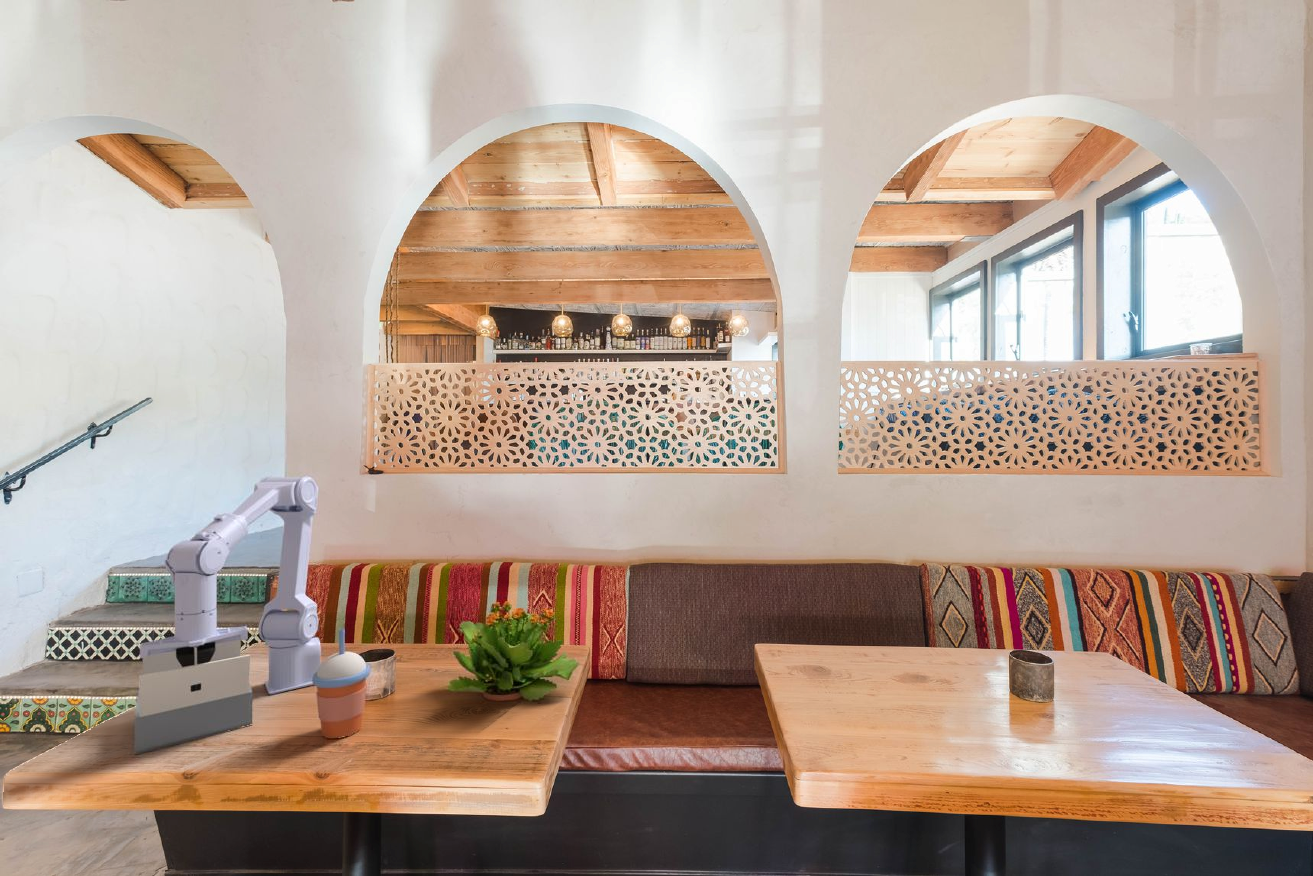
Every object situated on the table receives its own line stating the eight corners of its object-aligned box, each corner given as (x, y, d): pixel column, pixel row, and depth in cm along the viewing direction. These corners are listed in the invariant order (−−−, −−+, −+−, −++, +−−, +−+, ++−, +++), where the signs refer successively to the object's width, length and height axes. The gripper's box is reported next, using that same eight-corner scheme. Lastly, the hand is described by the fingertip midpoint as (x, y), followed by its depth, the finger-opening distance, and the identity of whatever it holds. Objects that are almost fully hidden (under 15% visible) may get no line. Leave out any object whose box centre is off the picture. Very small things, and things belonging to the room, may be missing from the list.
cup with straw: (310, 749, 99) (310, 640, 99) (313, 726, 107) (313, 626, 107) (371, 736, 103) (371, 632, 103) (369, 715, 111) (369, 619, 111)
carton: (243, 696, 120) (243, 666, 120) (252, 725, 107) (252, 691, 107) (138, 720, 109) (138, 687, 110) (134, 755, 97) (134, 718, 97)
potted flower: (468, 733, 104) (468, 633, 104) (419, 691, 122) (419, 606, 122) (586, 693, 120) (585, 606, 121) (528, 661, 138) (528, 586, 138)
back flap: (240, 666, 119) (239, 665, 120) (241, 630, 118) (240, 630, 118) (142, 685, 110) (142, 685, 110) (142, 647, 108) (142, 646, 109)
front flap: (249, 654, 105) (250, 655, 105) (248, 691, 107) (248, 692, 107) (139, 675, 96) (139, 676, 95) (139, 716, 98) (139, 717, 97)
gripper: (139, 624, 94) (138, 709, 94) (249, 608, 103) (249, 685, 103) (141, 614, 100) (140, 694, 100) (245, 599, 109) (245, 673, 109)
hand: (195, 689), depth 102 cm, fingers closed, pressing on front flap
